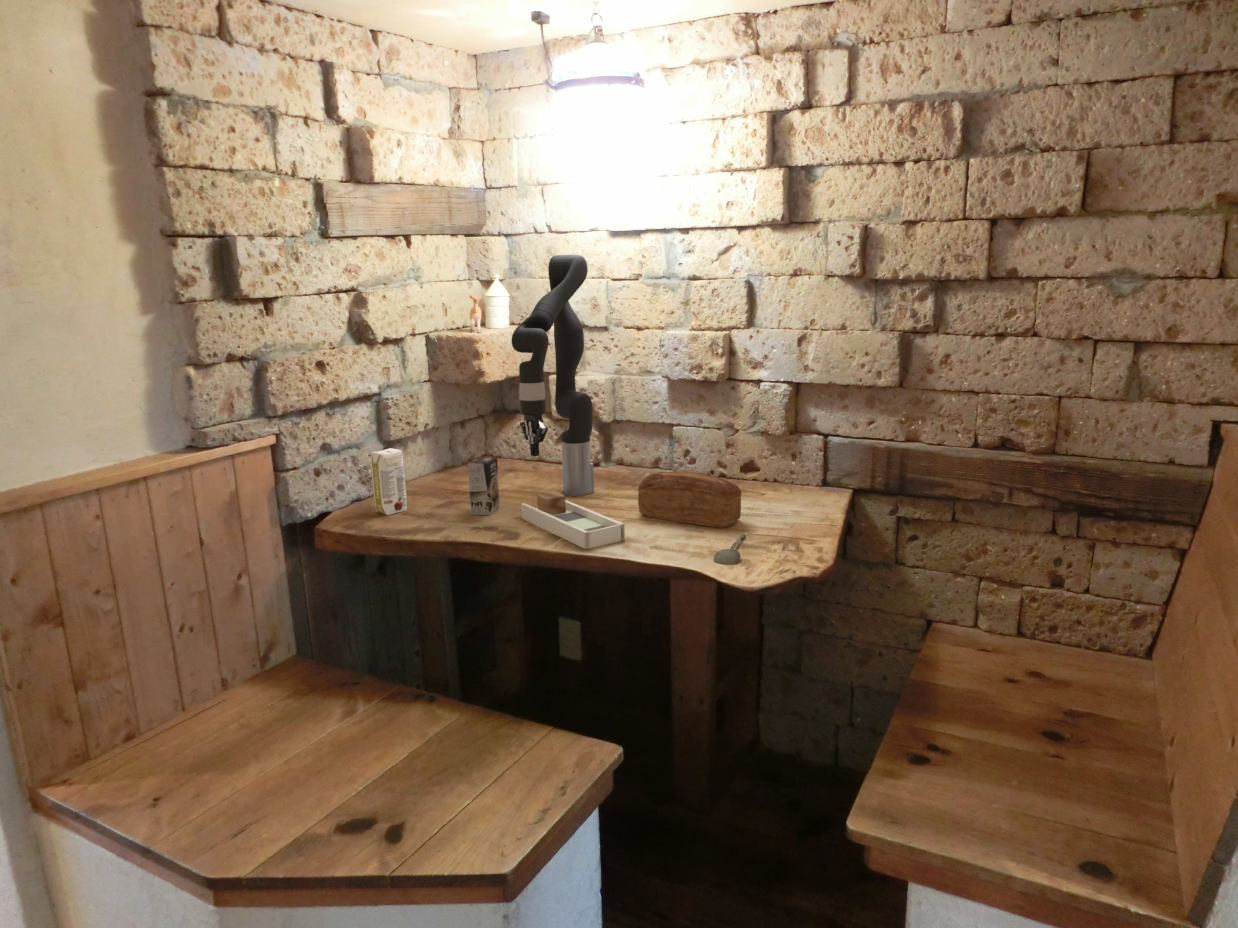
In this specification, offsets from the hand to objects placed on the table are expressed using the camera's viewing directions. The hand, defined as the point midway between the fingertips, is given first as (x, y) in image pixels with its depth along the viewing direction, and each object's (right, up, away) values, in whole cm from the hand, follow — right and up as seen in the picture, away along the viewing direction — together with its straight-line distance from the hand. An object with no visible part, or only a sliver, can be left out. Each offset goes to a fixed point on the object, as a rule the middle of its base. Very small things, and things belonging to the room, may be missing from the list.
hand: (534, 455), depth 250 cm
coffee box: (-16, -17, +8) cm, 24 cm away
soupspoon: (+55, -25, -32) cm, 68 cm away
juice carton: (-45, -17, +10) cm, 49 cm away
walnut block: (+5, -16, -3) cm, 18 cm away
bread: (+45, -19, -4) cm, 49 cm away
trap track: (+11, -21, -11) cm, 26 cm away
